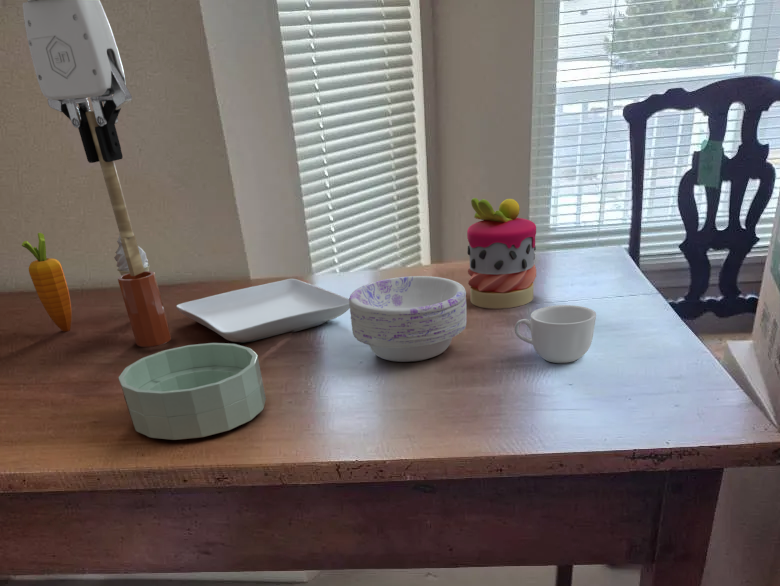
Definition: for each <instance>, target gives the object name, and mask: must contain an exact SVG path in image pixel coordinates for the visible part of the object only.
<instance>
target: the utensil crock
mask: <svg viewBox="0 0 780 586" xmlns="http://www.w3.org/2000/svg"><path fill="white" fill-rule="evenodd" d="M117 281H118V285H119V288H120V293H121V295H122V299H123V302H124V305H125V309H126V313H127V317H128V319H129V323H130V327H131V330H132V334H133V338H134V341H135V344H136V345H137V346H138V347H142V348H151V347H157V346H161V345H165V344H167V343H169V342H170V341H171V340H172V335H171V331H170V327H169V323H168V320H167V315H166V311H165V307H164V303H163V299H162V296H161V291H160V288H159V285H158V280H157V276H156V273H155V271H151V270H149V271H145V272H143V273H140V274H138V275H136V276H131V275H130V273H128V274H124V275H122V276H121V275H120V276H118V277H117Z"/></svg>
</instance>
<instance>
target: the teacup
mask: <svg viewBox="0 0 780 586" xmlns="http://www.w3.org/2000/svg"><path fill="white" fill-rule="evenodd" d="M596 318H597V313H596V311H595V310H593V309H592V308H589V307H586V306H581V305H573V304H572V305H571V304H561V305H559V304H557V305H549V306H544V307H541V308H537V309H535V310H533V311H532V312H531V313H530V319H528V318H522V319H519V320H518V321H517V322H516V323H515V325H514V333H515V335H516V336H517V338H519V339H520V340H521V341H523V342H525V343H527V344H530V345H532V346H533V349H534V350H535V352H536V354H537V355H538V356H539V357H540V358H542V359H544V360H545V361H546V362H550V363H554V364H555V363H556V364H567V363H573V362H576V361H577V360H579V359H581V358H582V357H583V356H585V354H586V353H587V352H588V351H589V349H590V348H591V345H592V342H593V338H594V334H595V325H596V320H597V319H596ZM522 324H524V325H525V326H526V327H527V328H528V330H529V331H530V335H531V337H527V336H524V335H522V334H521V333H520V331H519V328H520V327H519V326H520V325H522Z"/></svg>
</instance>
